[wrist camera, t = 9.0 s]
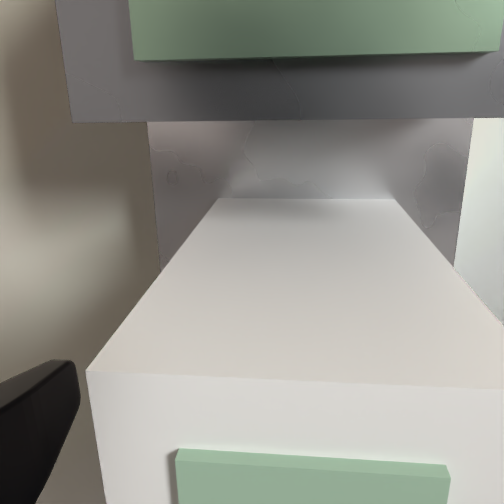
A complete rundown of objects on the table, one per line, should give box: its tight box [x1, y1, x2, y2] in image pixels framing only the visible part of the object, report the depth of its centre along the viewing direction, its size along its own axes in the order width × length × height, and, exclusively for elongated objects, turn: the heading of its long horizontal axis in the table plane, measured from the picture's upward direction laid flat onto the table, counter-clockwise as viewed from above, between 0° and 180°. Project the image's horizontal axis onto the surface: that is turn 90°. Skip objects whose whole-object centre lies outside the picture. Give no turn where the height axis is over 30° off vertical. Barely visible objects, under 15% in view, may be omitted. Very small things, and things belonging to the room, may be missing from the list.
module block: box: [85, 198, 504, 504], centre depth 8 cm, size 4×6×7 cm, turn 1°
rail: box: [55, 0, 504, 272], centre depth 10 cm, size 7×22×6 cm, turn 1°
